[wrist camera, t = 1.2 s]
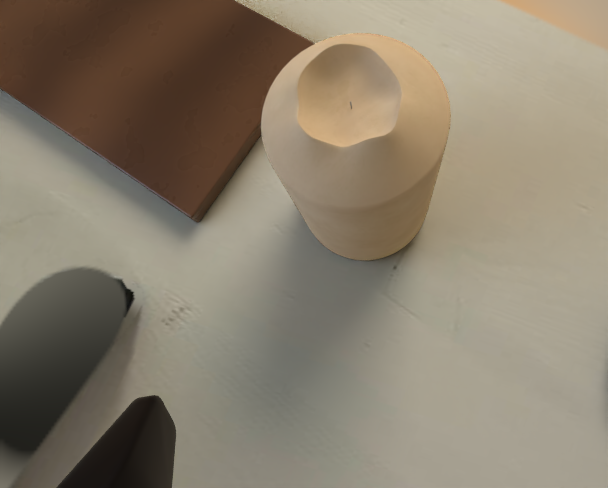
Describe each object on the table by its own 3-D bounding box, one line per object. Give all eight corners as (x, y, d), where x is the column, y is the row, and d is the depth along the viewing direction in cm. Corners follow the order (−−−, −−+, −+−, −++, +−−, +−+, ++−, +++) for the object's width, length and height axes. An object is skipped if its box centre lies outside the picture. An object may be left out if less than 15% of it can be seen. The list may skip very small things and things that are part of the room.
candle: (454, 213, 23) (503, 107, 13) (350, 286, 23) (324, 235, 13) (378, 121, 24) (372, -37, 14) (281, 190, 24) (211, 80, 15)
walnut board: (318, 55, 25) (315, 43, 24) (198, 223, 24) (190, 218, 24) (35, -98, 30) (23, -113, 29) (-73, 38, 29) (-89, 27, 28)
